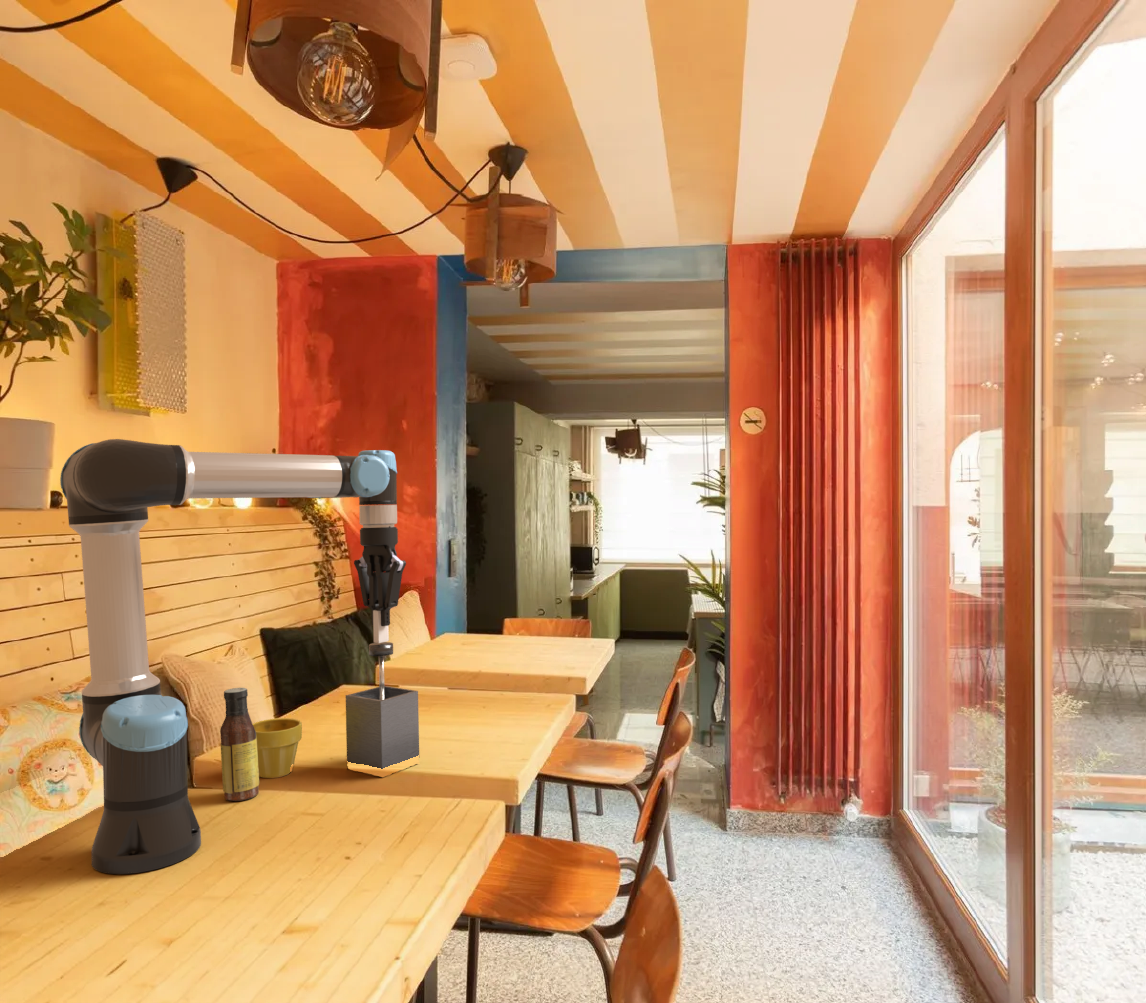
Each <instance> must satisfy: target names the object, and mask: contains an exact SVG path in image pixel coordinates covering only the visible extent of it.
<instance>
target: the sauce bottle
mask: <svg viewBox="0 0 1146 1003" xmlns="http://www.w3.org/2000/svg"><path fill="white" fill-rule="evenodd" d="M248 695H249V694H248V688H245V687H235V688H234V687H233V688H228V689H226V690H224V692H223V698H224V701H225V716H224V717H225V718H224V720H223V722H222V724H221V726H220V728H219V729H220V731H219V732H220V757H221V758H220V760H221V761H220V762H221V774H222V776H221V777H222V778H221V779H222V791H223V792H224V799H225V800H226V801H230V802H231V801H232V802H241V801H248V800H250V799H253V798H255V797H256V796H257V795H258V794H259V793H260V791H259V790H260V788H259V785H260V776H259V770H258V754H257V739H256V731H255V729H254V726H253V722H252V719H251V716H250V713H249V711H248V710H249V709H248Z"/></svg>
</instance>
